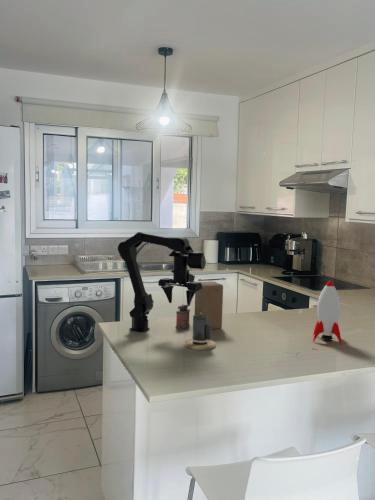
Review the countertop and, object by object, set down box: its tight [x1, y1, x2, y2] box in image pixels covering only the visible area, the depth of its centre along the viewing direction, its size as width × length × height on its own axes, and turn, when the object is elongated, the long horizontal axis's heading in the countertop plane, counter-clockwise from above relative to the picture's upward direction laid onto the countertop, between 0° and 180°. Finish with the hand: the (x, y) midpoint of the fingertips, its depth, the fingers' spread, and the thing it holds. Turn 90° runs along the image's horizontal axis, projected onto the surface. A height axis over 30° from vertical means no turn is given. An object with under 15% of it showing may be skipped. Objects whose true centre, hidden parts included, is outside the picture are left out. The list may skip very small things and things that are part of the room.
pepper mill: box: [191, 312, 212, 345], centre depth 175 cm, size 8×6×12 cm
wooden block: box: [194, 281, 224, 330], centre depth 204 cm, size 10×10×20 cm
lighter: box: [175, 304, 191, 330], centre depth 203 cm, size 8×3×10 cm, turn 141°
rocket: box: [312, 280, 343, 346], centre depth 187 cm, size 11×11×25 cm
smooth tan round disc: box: [184, 338, 217, 351], centre depth 176 cm, size 12×12×1 cm
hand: (179, 304), depth 189 cm, fingers open, 9 cm apart
